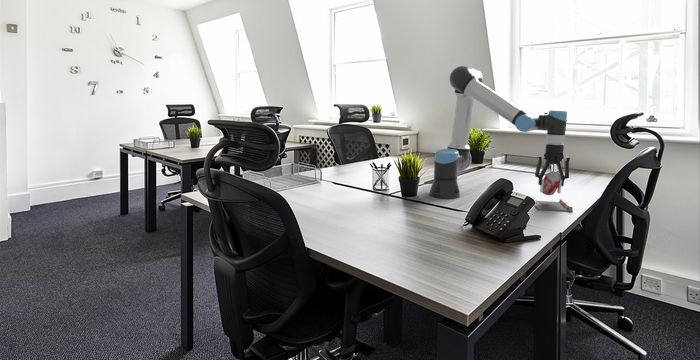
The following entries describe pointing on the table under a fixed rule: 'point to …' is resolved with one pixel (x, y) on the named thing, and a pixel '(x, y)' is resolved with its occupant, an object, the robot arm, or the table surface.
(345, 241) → the table surface
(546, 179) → the soda can
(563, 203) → the guide rails
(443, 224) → the table surface
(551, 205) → the mat
